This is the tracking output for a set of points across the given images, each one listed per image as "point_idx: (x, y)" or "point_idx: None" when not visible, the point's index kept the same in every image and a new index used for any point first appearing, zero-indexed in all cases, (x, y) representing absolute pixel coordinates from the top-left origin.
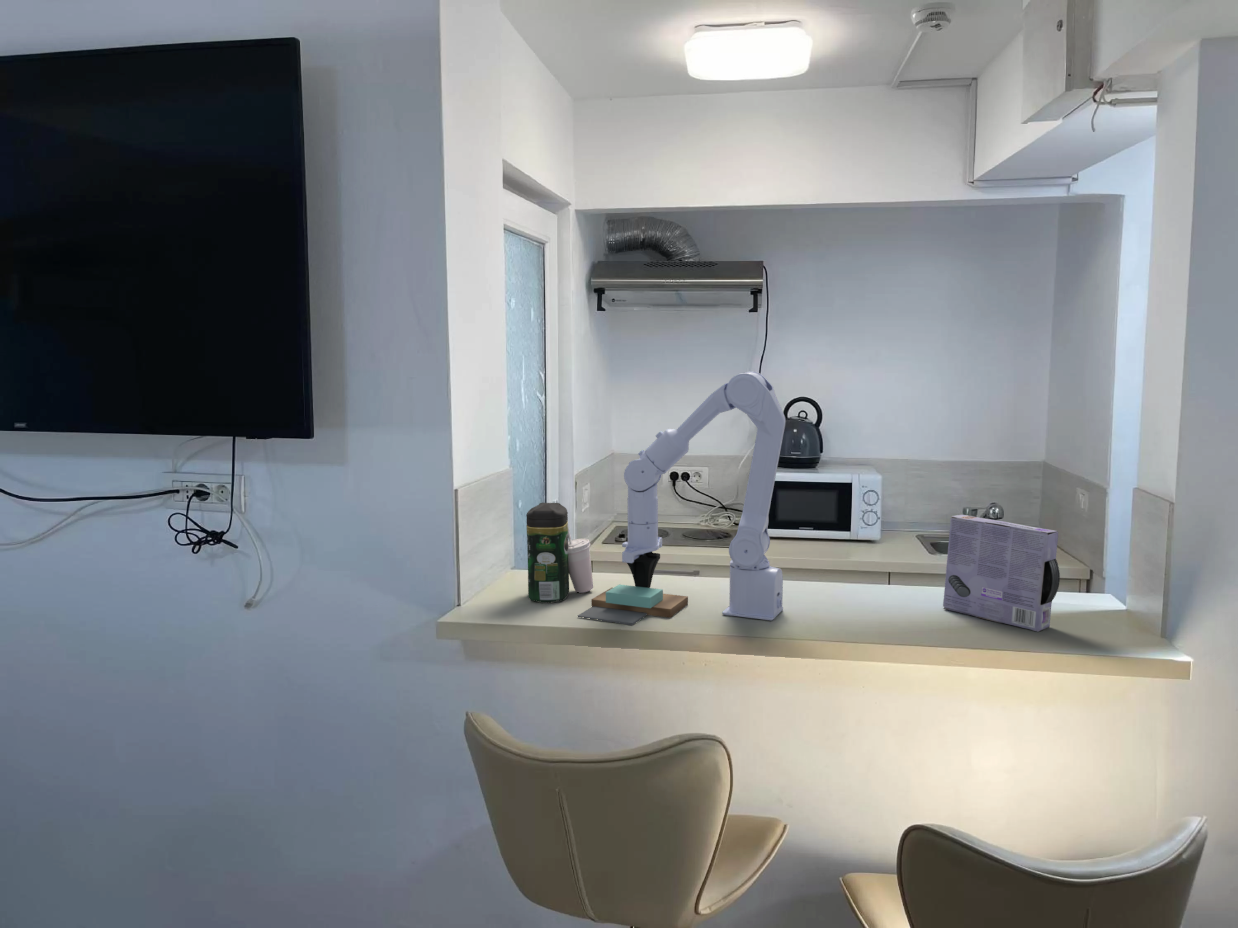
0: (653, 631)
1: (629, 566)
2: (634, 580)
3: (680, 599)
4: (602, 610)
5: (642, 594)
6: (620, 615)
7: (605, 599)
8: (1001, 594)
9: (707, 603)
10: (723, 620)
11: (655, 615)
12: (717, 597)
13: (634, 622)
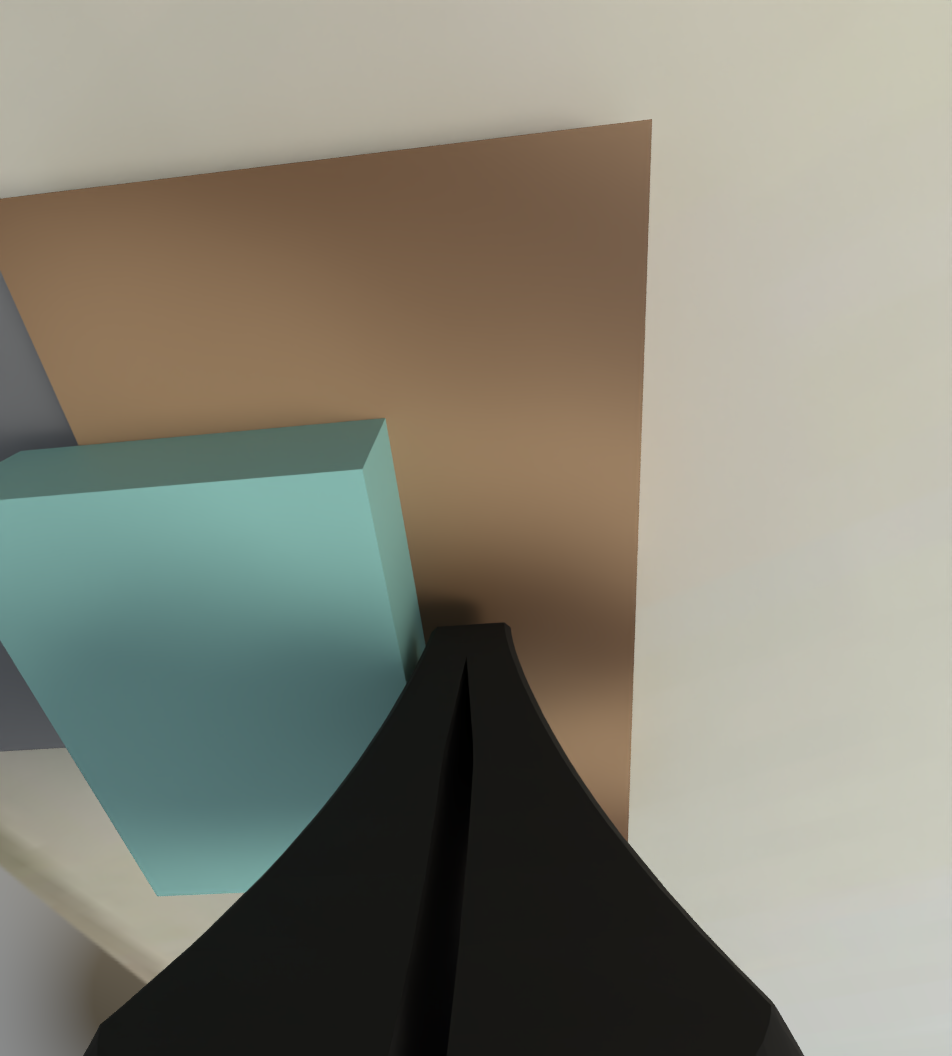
0: (20, 851)
1: (227, 917)
2: (388, 717)
3: None
4: (7, 421)
5: (187, 825)
6: None
7: (108, 381)
8: None
9: (690, 882)
10: None
11: None
12: (848, 884)
13: (15, 747)
